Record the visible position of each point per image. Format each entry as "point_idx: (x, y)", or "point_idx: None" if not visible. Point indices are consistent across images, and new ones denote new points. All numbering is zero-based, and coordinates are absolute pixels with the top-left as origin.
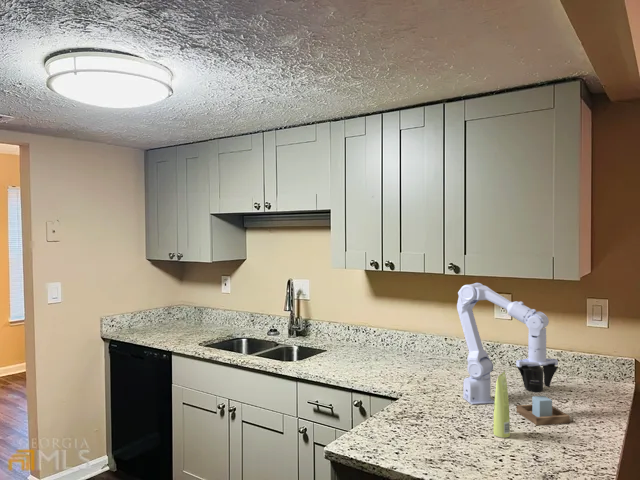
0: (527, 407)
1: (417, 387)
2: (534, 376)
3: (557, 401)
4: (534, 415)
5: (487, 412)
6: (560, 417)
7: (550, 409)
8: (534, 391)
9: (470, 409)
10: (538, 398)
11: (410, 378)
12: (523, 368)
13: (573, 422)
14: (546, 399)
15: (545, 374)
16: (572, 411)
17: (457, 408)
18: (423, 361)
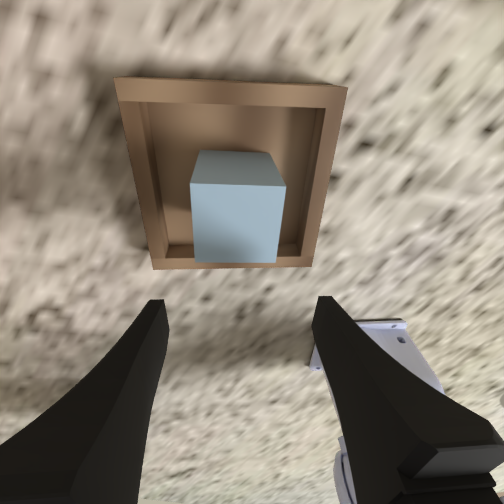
0: None
1: None
2: None
3: (74, 316)
4: (324, 136)
5: (412, 260)
6: (183, 81)
7: (207, 163)
8: None
9: (442, 289)
10: (262, 228)
11: None
12: (475, 473)
13: (100, 79)
14: (222, 203)
15: (144, 408)
16: (45, 220)
17: (472, 301)
18: (296, 497)
